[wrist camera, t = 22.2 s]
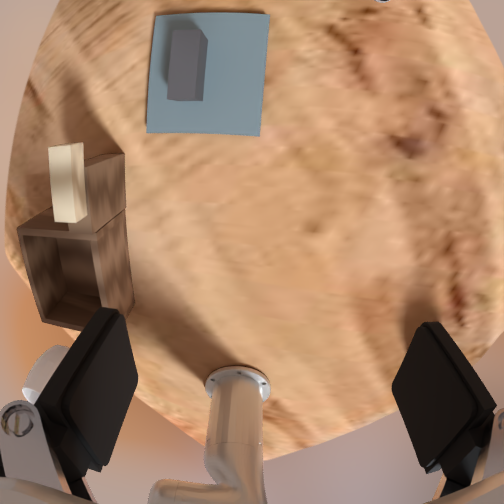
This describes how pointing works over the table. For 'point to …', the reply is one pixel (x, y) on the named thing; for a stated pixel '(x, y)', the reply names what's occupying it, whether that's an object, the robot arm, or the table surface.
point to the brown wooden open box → (82, 252)
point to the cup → (43, 372)
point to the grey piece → (207, 73)
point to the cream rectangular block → (67, 182)
